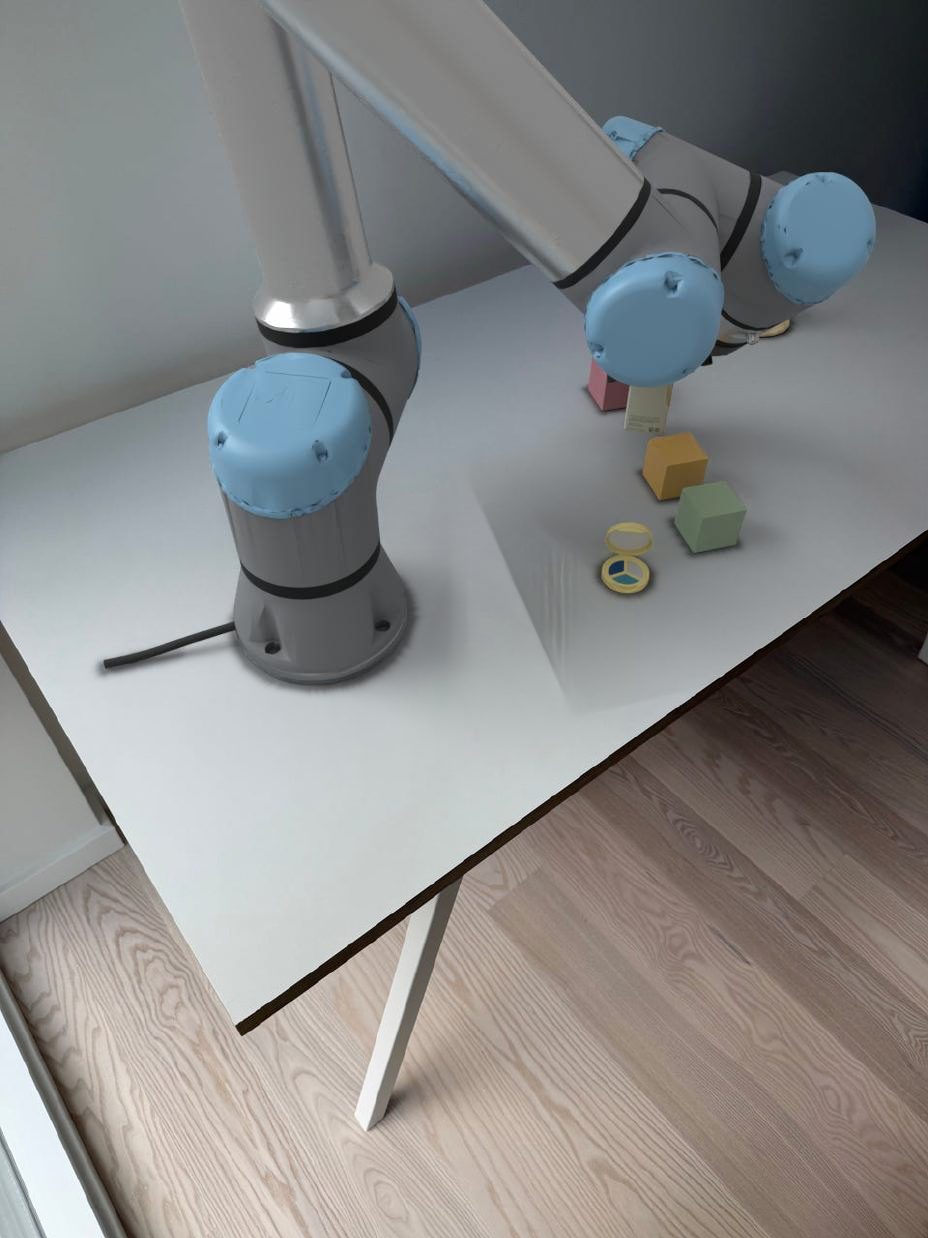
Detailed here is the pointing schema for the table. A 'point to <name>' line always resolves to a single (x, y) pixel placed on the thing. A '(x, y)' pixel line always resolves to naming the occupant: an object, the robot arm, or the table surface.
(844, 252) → the robot arm
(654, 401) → the cosmetic box
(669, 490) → the colored toy blocks
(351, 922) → the table surface
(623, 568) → the eyeshadow
